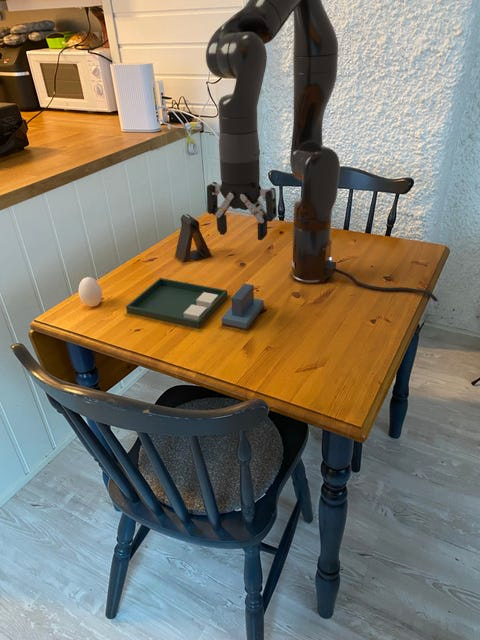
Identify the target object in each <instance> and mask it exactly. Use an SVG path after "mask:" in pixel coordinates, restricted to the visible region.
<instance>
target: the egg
mask: <svg viewBox="0 0 480 640" xmlns="http://www.w3.org/2000/svg"><path fill="white" fill-rule="evenodd" d="M78 296H79V299H80V301H81V302H82V303H83V304H84V305H85V306H87V307H90V308H92V307H93V308H94V307H96V306H98V305H99V304H100V303H101V301H102V299H103V290H102V287H101V285H100V284H99V282H98V281H97V280H96V279H94V278H93V277H90V276H86V277H83V278H82V280H81V281H80V283H79V285H78Z"/></svg>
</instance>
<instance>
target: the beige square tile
mask: <svg viewBox="0 0 480 640" xmlns="http://www.w3.org/2000/svg"><path fill="white" fill-rule="evenodd" d="M218 297H219V296H218V295H216V294H211V293H206V292H203V294H202V295H201V296H200V297H199V298H198V299H197V300H196V302H197V306H202V307H207V308H209V307H210V306H211V305H212V304H213V303H214V302H215V301H216V299H217V298H218Z"/></svg>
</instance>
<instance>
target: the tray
mask: <svg viewBox="0 0 480 640" xmlns="http://www.w3.org/2000/svg"><path fill="white" fill-rule="evenodd" d="M203 292H206V293H211V294H216V295H218V296H219V297H218V298H217V299H216V301H215V302H214V303H213V304H212V305H211V306H210V307H209V308H207V310H206V311H205V313H204V314H203V315H202V316H201V317H200V318H199V319H198V320H193V319H188V318H184V312H185V311H186V310H187V309H188V308H189V307H190V306H191V305H197V302H196V300H197V299H198V298H199V297H200V296H201V295H202V294H203ZM228 295H229V294H228V290H227V289H222V288H217V287H212V286H206V285H200V284H195V283H190V282H185V281H179V280H175V279H170V278H163V277H159V278H158V279H157V280H156V281H155V282H153V283H152V284H151V285H149V287H147V288H146V289H145V290H144V291H142V292H141V293H140V294H139V295H138V296H136V297H135V298H134V299H132V301H130V302H129V303H127V304H126V305H125V309H126V314H129V315H134V316H138V317H143V318H147V319H153V320H156V321H161V322H164V323H170V324H173V325H177V326H183V327H186V328H187V327H188V328H191V329H196V330H200V329H201V328H202V327H203V326H204V324H205V323H206V322H207V321H208V320H209V319H210V318H211V316H212V315H213V314H214V313H215V312H216V311H217V310H218V309H219V307H220V306H221V305H222V304H223V303H224V302H225V300H227V298H228Z"/></svg>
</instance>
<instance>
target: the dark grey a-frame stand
mask: <svg viewBox="0 0 480 640" xmlns="http://www.w3.org/2000/svg"><path fill="white" fill-rule="evenodd" d="M180 222H181V226H180V229H179V230H180V231H179V236H178V240H177V243H176V249H175V254H174V257H176V258H177V259H178V260H179V261H180V262H182V263H187V262H190V261H195V262H196V261H200V260H204V259H208V258H211V257H212V253H211V252H210V251H211V250H210V248H209V247H208V244H207V243H206V240H205V239H204V236H203V234H202V231H201V229H200V221H199V220H197V219H196V218H194V217H193V216H192V215H190V214H188V213H186V215H185V214H182V215H181V216H180ZM193 242H194V245H195V247H196V249H194V250H192V244H193Z"/></svg>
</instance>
